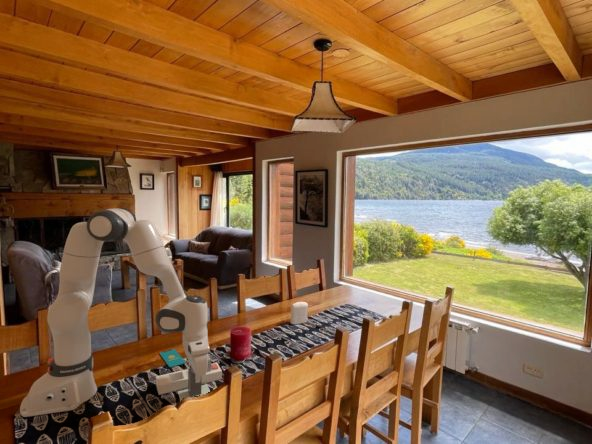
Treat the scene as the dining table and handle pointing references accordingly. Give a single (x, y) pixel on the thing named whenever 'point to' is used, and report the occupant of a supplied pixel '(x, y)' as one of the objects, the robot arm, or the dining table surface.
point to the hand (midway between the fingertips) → (194, 374)
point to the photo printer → (299, 313)
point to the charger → (193, 384)
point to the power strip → (186, 378)
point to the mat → (185, 393)
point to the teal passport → (172, 358)
